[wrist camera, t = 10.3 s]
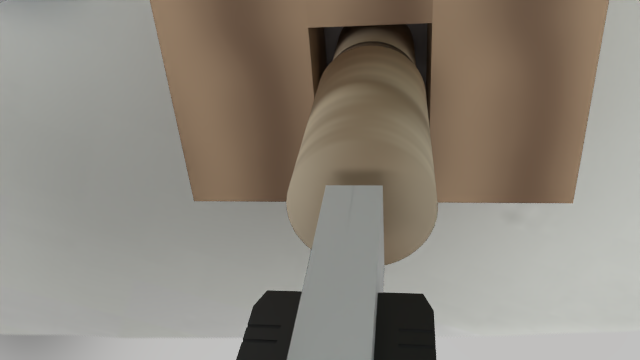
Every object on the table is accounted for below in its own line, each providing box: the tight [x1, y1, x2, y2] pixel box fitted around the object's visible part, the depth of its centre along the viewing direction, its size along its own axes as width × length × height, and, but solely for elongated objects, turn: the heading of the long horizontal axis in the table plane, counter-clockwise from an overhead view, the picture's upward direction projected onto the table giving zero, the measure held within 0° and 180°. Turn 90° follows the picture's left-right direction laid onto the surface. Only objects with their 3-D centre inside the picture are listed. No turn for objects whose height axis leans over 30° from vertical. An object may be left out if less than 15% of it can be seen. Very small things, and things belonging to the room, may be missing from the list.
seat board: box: [150, 0, 609, 203], centre depth 21 cm, size 18×20×14 cm
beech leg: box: [286, 24, 438, 265], centre depth 23 cm, size 4×4×14 cm
